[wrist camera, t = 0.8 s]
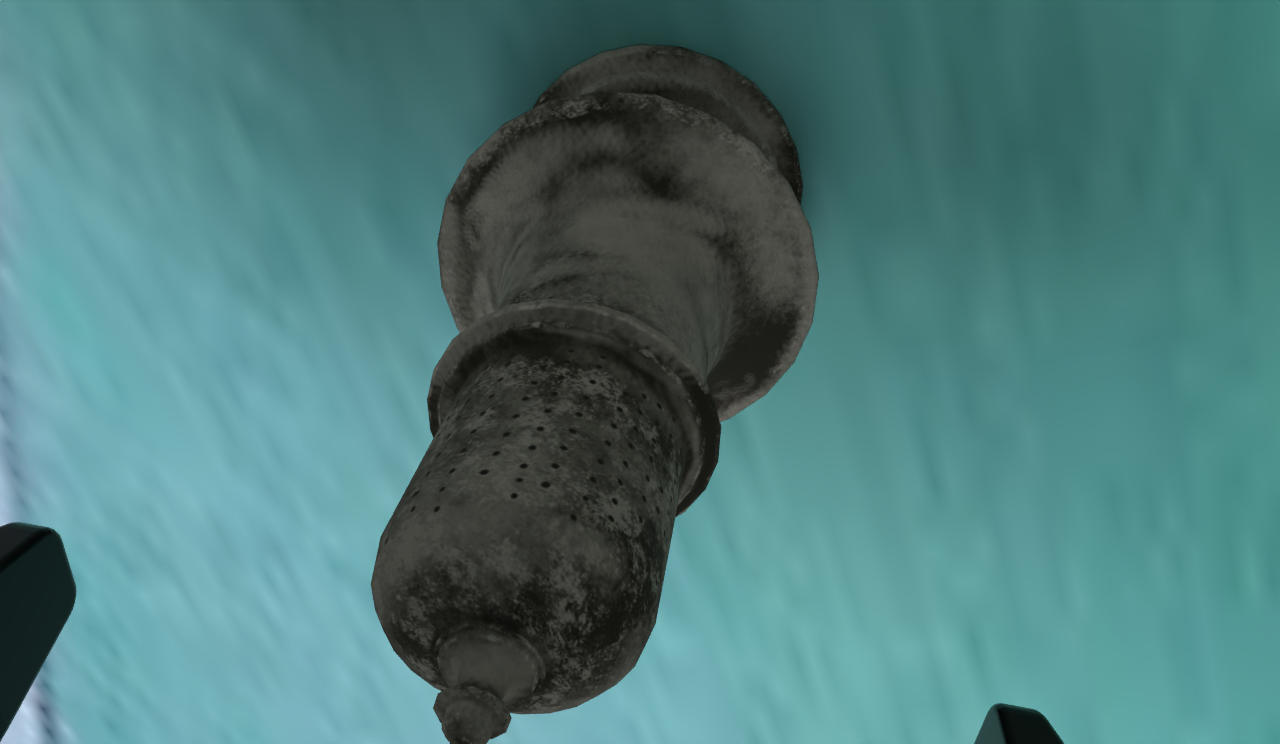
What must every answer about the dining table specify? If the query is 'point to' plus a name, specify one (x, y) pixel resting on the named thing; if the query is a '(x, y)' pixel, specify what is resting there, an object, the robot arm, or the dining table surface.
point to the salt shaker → (589, 374)
